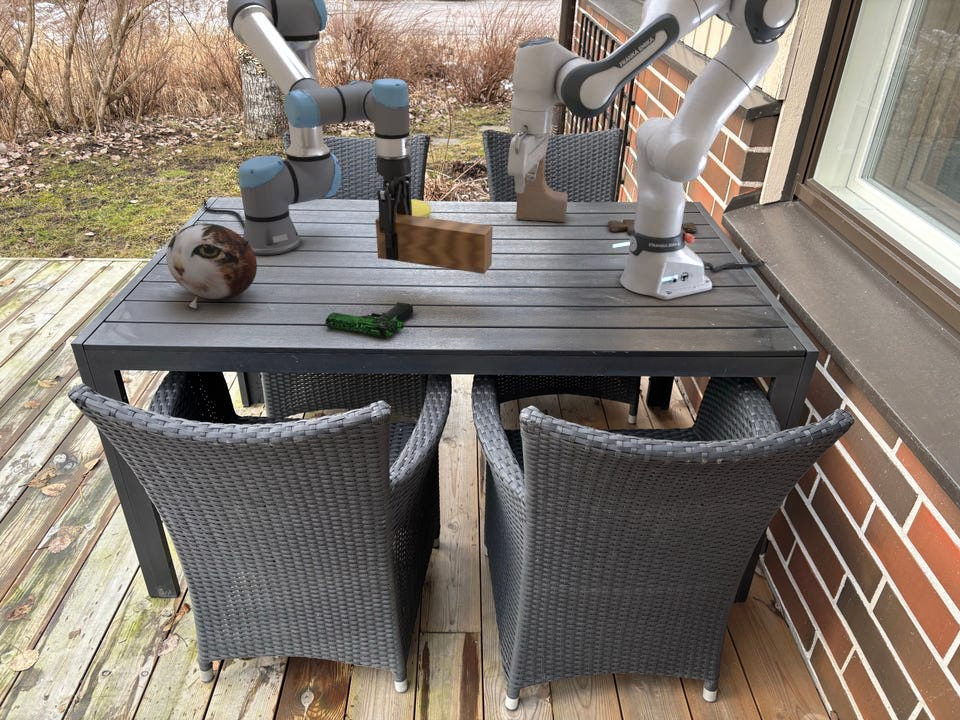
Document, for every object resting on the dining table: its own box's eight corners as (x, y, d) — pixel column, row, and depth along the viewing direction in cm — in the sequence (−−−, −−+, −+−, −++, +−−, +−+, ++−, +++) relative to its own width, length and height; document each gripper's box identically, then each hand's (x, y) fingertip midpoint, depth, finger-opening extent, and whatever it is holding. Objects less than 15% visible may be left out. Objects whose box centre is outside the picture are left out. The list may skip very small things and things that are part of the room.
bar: (377, 258, 167) (375, 219, 162) (387, 249, 172) (385, 212, 167) (484, 274, 160) (485, 234, 156) (491, 264, 165) (492, 226, 160)
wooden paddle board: (699, 237, 207) (691, 225, 216) (700, 231, 206) (692, 220, 215) (610, 234, 207) (606, 222, 216) (611, 228, 207) (607, 217, 215)
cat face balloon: (130, 285, 161) (164, 203, 163) (192, 308, 177) (221, 233, 178) (195, 307, 151) (229, 220, 152) (254, 330, 166) (285, 250, 168)
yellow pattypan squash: (403, 206, 226) (402, 184, 222) (442, 217, 218) (442, 194, 215) (368, 220, 215) (367, 197, 211) (408, 231, 207) (407, 208, 203)
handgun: (421, 304, 161) (388, 331, 148) (421, 316, 162) (389, 343, 150) (358, 292, 166) (322, 317, 154) (359, 304, 167) (323, 330, 155)
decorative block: (565, 222, 215) (573, 120, 200) (515, 219, 217) (520, 117, 202) (566, 214, 222) (574, 114, 206) (518, 211, 223) (522, 112, 208)
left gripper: (391, 168, 148) (396, 271, 160) (425, 146, 163) (427, 242, 175) (358, 164, 150) (365, 266, 162) (395, 143, 165) (399, 238, 177)
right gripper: (533, 133, 141) (527, 201, 148) (556, 114, 158) (549, 176, 165) (502, 129, 142) (498, 197, 149) (528, 111, 159) (523, 172, 166)
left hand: (397, 253), depth 168 cm, fingers closed on bar, 6 cm apart
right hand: (525, 186), depth 157 cm, fingers open, 8 cm apart
